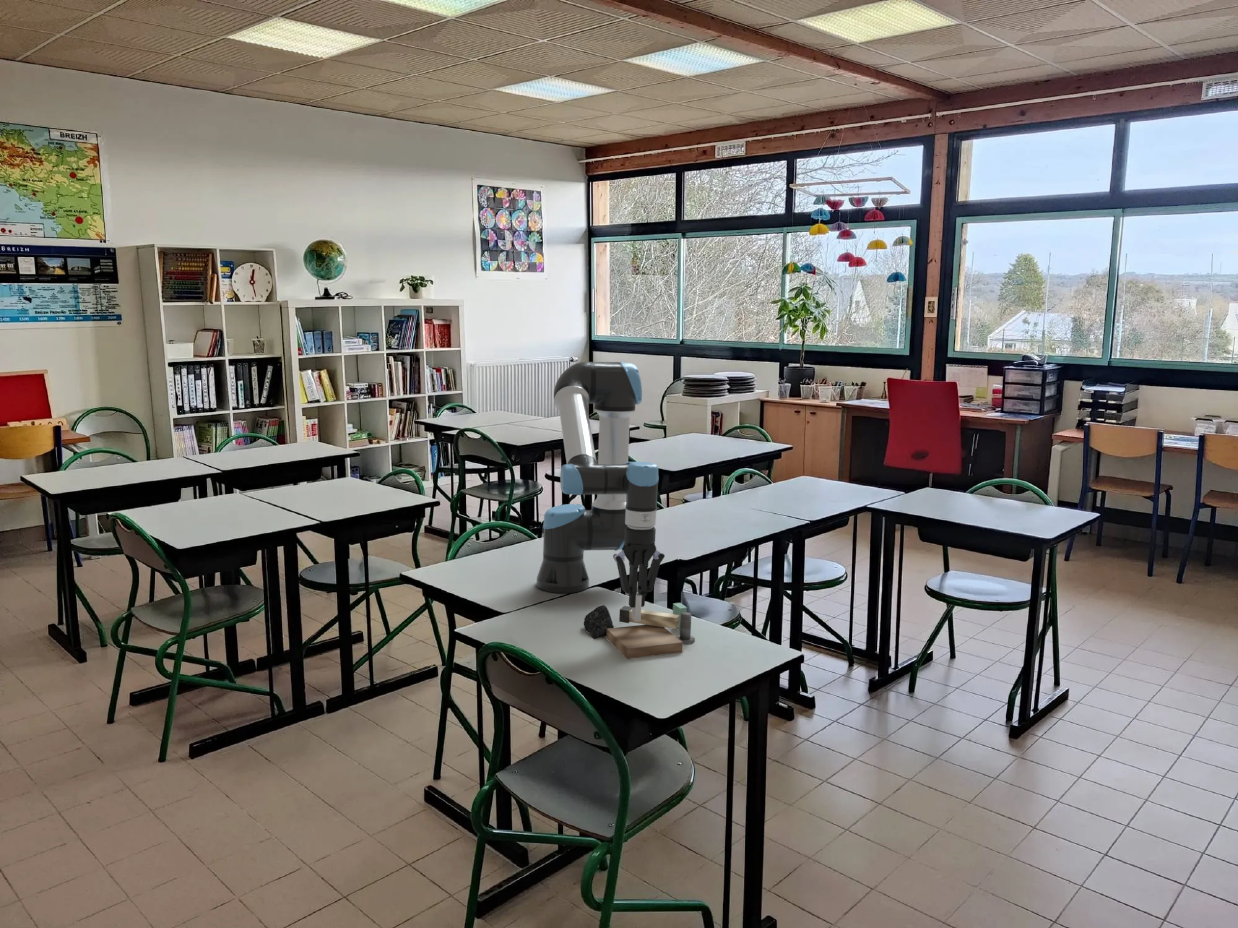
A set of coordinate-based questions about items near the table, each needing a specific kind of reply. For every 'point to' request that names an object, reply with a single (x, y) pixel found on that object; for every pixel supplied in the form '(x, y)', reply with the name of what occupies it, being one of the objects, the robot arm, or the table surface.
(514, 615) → the table surface
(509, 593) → the table surface
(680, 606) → the pale green block
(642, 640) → the seat
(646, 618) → the leg
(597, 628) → the rock
